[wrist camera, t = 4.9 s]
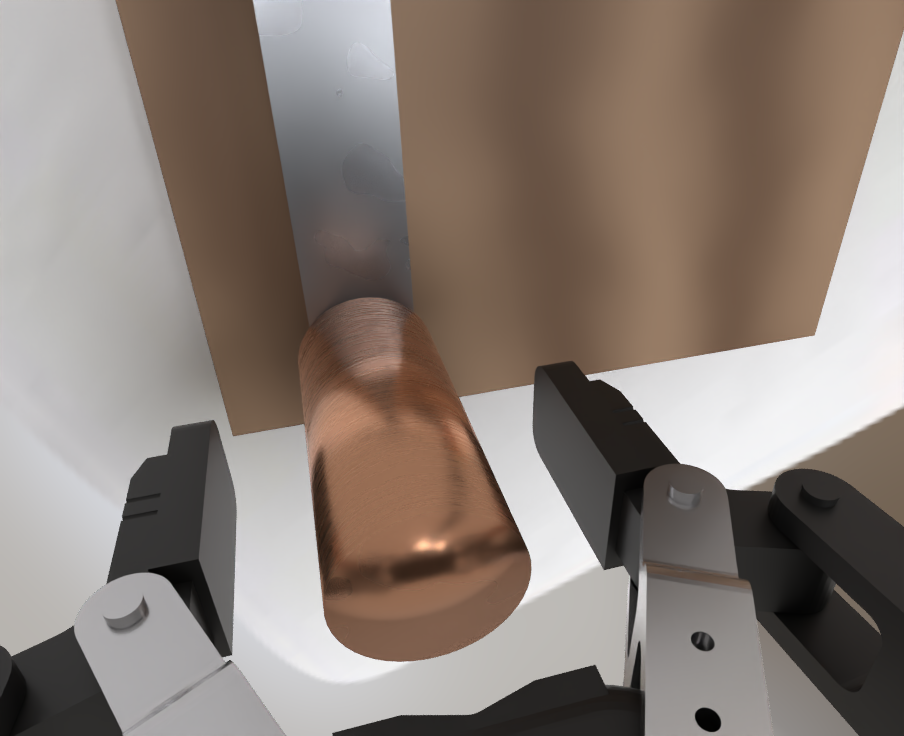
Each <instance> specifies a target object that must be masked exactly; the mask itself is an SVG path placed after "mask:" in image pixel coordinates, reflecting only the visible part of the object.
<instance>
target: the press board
mask: <svg viewBox="0 0 904 736" xmlns="http://www.w3.org/2000/svg"><path fill="white" fill-rule="evenodd" d="M390 3H391V16H392V29H393V42H394V56H395V69H396V82H397V95H398V108H399V121H400V135H401V148H402V161H403V174H404V187H405V200H406V214H407V227H408V240H409V253H410V266H411V280H412V293H413V306H414V313H416V314H417V315H418V316H419V317H420V318H421V320H422V321H423V322H424V324H425V325H426V327H427V329H428V331H429V333H430V335H431V337H432V339H433V342H434V344H435V346H436V348H437V350H438V353H439V355H440V357H441V359H442V361H443V364H444V366H445V368H446V370H447V372H448V375H449V377H450V379H451V381H452V384H453V386H454V388H455V390H456V392H457V395H458V397H462V396H468V395H473V394H479V393H485V392H491V391H496V390H502V389H508V388H514V387H519V386H525V385H531V384H534V376H535V370H536V368H537V367H538V366H542V365H548V364H554V363H560V362H566V361H573V362H575V363H576V365H577V366H578V367H579V368H580V370H581V371H582V372H583V374H584V375H589V374H594V373H600V372H606V371H612V370H617V369H623V368H629V367H635V366H640V365H646V364H652V363H658V362H664V361H669V360H675V359H681V358H687V357H692V356H698V355H704V354H710V353H715V352H721V351H727V350H733V349H738V348H744V347H750V346H756V345H761V344H767V343H773V342H779V341H785V340H790V339H796V338H802V337H808V336H813V335H815V332H816V328H817V325H818V321H819V318H820V315H821V311H822V308H823V304H824V301H825V297H826V294H827V291H828V287H829V284H830V280H831V277H832V273H833V270H834V267H835V263H836V260H837V256H838V253H839V250H840V246H841V243H842V239H843V236H844V232H845V229H846V226H847V222H848V219H849V215H850V212H851V208H852V205H853V202H854V198H855V195H856V191H857V188H858V184H859V181H860V178H861V174H862V171H863V167H864V164H865V160H866V157H867V154H868V150H869V147H870V143H871V140H872V136H873V133H874V130H875V126H876V123H877V119H878V116H879V112H880V109H881V106H882V102H883V99H884V95H885V92H886V88H887V85H888V82H889V78H890V75H891V71H892V68H893V64H894V61H895V58H896V54H897V51H898V47H899V44H900V41H901V37H902V34H903V30H904V0H390ZM116 4H117V7H118V11H119V15H120V19H121V22H122V26H123V30H124V33H125V37H126V41H127V45H128V48H129V52H130V56H131V59H132V63H133V67H134V71H135V74H136V78H137V82H138V85H139V89H140V93H141V97H142V100H143V104H144V108H145V111H146V115H147V119H148V123H149V126H150V130H151V134H152V137H153V141H154V145H155V148H156V152H157V156H158V160H159V163H160V167H161V171H162V174H163V178H164V182H165V186H166V189H167V193H168V197H169V200H170V204H171V208H172V212H173V215H174V219H175V223H176V226H177V230H178V234H179V238H180V241H181V245H182V249H183V252H184V256H185V260H186V264H187V267H188V271H189V275H190V278H191V282H192V286H193V289H194V293H195V297H196V301H197V304H198V308H199V312H200V315H201V319H202V323H203V327H204V330H205V334H206V338H207V341H208V345H209V349H210V353H211V356H212V360H213V364H214V367H215V371H216V375H217V379H218V382H219V386H220V390H221V393H222V397H223V401H224V405H225V408H226V412H227V416H228V419H229V423H230V427H231V430H232V434H233V436H237V435H243V434H249V433H254V432H260V431H266V430H272V429H277V428H283V427H289V426H295V425H300V424H304V414H303V405H302V395H301V386H300V376H299V366H298V354H299V349H300V345H301V342H302V340H303V337H304V336H305V334H306V332H307V330H308V329H309V322H308V316H307V311H306V305H305V299H304V293H303V287H302V282H301V276H300V270H299V264H298V258H297V253H296V247H295V241H294V235H293V230H292V224H291V218H290V212H289V206H288V201H287V195H286V189H285V183H284V177H283V172H282V166H281V160H280V154H279V148H278V143H277V137H276V131H275V125H274V120H273V114H272V108H271V102H270V96H269V91H268V85H267V79H266V73H265V67H264V62H263V56H262V50H261V44H260V38H259V33H258V27H257V21H256V15H255V10H254V4H253V0H116Z"/></svg>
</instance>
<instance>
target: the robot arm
mask: <svg viewBox="0 0 904 736" xmlns="http://www.w3.org/2000/svg"><path fill="white" fill-rule="evenodd" d="M533 435H534V440H535V444H536V448H537V451H538V453H539V455H540V457H541V459H542V461H543V462H544V464H545V466H546V468H547V469H548V471H549V473H550V475H551V477H552V478H553V480H554V482H555V484H556V485H557V487H558V489H559V491H560V493H561V494H562V496H563V498H564V500H565V501H566V503H567V505H568V507H569V509H570V510H571V512H572V514H573V516H574V518H575V519H576V521H577V523H578V525H579V526H580V528H581V530H582V532H583V534H584V535H585V537H586V539H587V541H588V542H589V544H590V546H591V548H592V550H593V551H594V553H595V555H596V557H597V558H598V560H599V562H600V564H601V566H602V567H603V569H604V570H606V569H611V568H615V567H619V566H624V567H625V568H626V570H627V572H628V573H629V575H630V577H629V583H628V591H627V617H626V643H625V667H624V682H623V686H615V685H605V684H604V682H603V680H602V678H601V676H600V674H599V672H598V669H597V667H596V666H595V665H593V666H589V667H585V668H581V669H577V670H574V671H570V672H566V673H562V674H558V675H554V676H550V677H547V678H543V679H539V680H535V681H533V682H531V683H529V684H528V685H526V686H524V687H522V688H521V689H519V690H517V691H515V692H514V693H512V694H510V695H508V696H506V697H505V698H503V699H501V700H499V701H498V702H496V703H494V704H492V705H491V706H489V707H487V708H485V709H484V710H482V711H480V712H478V713H476V714H472V715H401V716H396V717H393V718H389V719H385V720H381V721H377V722H374V723H369V724H366V725H362V726H358V727H354V728H351V729H346V730H342V731H339V732H335V733H332V734H333V736H774V734H773V727H772V721H771V714H770V707H769V700H768V693H767V687H766V680H765V674H764V667H763V660H762V653H761V647H760V640H759V633H758V627H757V620H758V621H759V622H760V623H761V625H762V626H763V627H764V628H765V629H766V630H767V631H768V633H769V634H770V635H771V636H772V637H773V638H774V639H775V641H776V642H777V643H778V644H779V645H780V646H781V647H782V648H783V650H784V651H785V652H786V653H787V654H788V655H789V656H790V658H791V659H792V660H793V661H794V662H795V663H796V664H797V666H798V667H799V668H800V669H801V670H802V671H803V672H804V674H806V676H807V677H808V678H809V679H810V680H811V682H812V683H813V684H814V685H815V686H816V687H817V688H818V690H819V691H820V692H821V693H822V694H823V695H824V696H825V697H826V699H827V700H828V701H829V702H830V703H831V704H832V705H833V707H834V708H835V709H836V710H837V711H838V712H839V713H840V714H841V716H842V717H843V718H844V719H845V720H846V721H847V722H848V724H849V725H850V726H851V727H852V728H853V729H854V730H855V732H856V733H857V734H858V735H859V736H904V527H903V526H902V525H901V524H899V523H898V522H897V521H896V520H894V519H893V518H892V517H891V516H889V515H888V514H887V513H885V512H884V511H883V510H881V509H880V508H879V507H878V506H876V505H875V504H874V503H873V502H871V501H870V500H869V499H867V498H866V497H865V496H864V495H862V494H861V493H860V492H859V491H857V490H856V489H855V488H854V487H852V486H851V485H850V484H848V483H847V482H845V481H843V480H842V479H840V478H838V477H836V476H834V475H831V474H828V473H825V472H822V471H818V470H812V469H794V470H790V471H787V472H784V473H783V474H781V475H780V476H779V477H778V478H777V480H776V482H775V485H774V488H773V491H772V492H766V491H743V490H729V489H725V487H724V486H723V484H722V483H721V482H720V481H719V480H718V479H717V478H716V477H715V476H713V475H712V474H710V473H709V472H707V471H705V470H703V469H700V468H698V467H694V466H691V465H685V464H680V463H679V462H678V461H677V459H676V458H675V457H674V456H673V455H672V453H671V452H670V451H669V450H668V448H667V447H666V446H665V445H664V444H663V442H662V441H661V440H660V439H659V438H658V436H657V435H656V434H655V433H654V432H653V430H652V429H651V428H650V427H649V425H648V424H647V423H646V422H643V418H642V417H641V416H640V415H639V413H638V412H637V411H636V410H633V406H632V405H631V404H630V402H629V401H628V400H627V399H626V398H625V396H624V395H623V394H622V393H621V391H619V390H617V389H615V388H614V387H612V386H610V385H609V384H607V383H605V382H603V381H602V380H595V381H589V380H588V379H587V377H586V376H585V375H584V374H583V372H582V371H581V370H580V368H579V367H578V366H577V365H576V363H575V362H573V361H566V362H560V363H554V364H548V365H542V366H538V367H537V368H536V370H535V376H534V402H533ZM126 501H127V503H126V504H125V506H124V511H123V515H122V518H123V521H121V524H120V528H119V532H118V536H117V541H116V546H115V550H114V554H113V558H112V562H111V567H110V571H109V575H108V579H107V584H106V585H104V586H103V587H102V588H100V589H99V590H97V591H96V592H95V593H94V594H93V595H92V596H91V597H89V598H88V600H87V601H86V602H85V603H84V605H83V606H82V607H81V609H80V611H79V612H78V614H77V617H76V620H75V624H74V626H72V627H71V628H69V629H67V630H66V631H64V632H62V633H61V634H59V635H57V636H55V637H53V638H51V639H48V640H46V641H44V642H42V643H40V644H38V645H36V646H33V647H31V648H29V649H27V650H25V651H22V652H20V653H18V654H16V655H14V656H12V657H11V655H10V654H9V652H8V651H7V650H6V649H5V648H4V647H2V646H0V736H286V735H285V733H284V732H283V731H282V729H281V728H280V726H279V725H278V724H277V722H276V721H275V719H274V718H273V717H272V715H271V713H270V712H269V711H268V709H267V708H266V706H265V705H264V704H263V702H262V701H261V699H260V698H259V696H258V695H257V694H256V692H255V691H254V690H253V688H252V687H251V685H250V684H249V682H248V681H247V679H246V678H245V677H244V675H243V674H242V672H241V671H240V670H239V668H238V667H237V666H236V665H235V664H234V663H233V662H232V661H231V660H229V661H228V662H225V661H224V660H223V658H222V657H226V656H230V655H232V640H233V609H234V578H235V546H236V515H237V510H236V498H235V491H234V486H233V481H232V478H231V474H230V470H229V467H228V463H227V460H226V456H225V453H224V449H223V446H222V442H221V439H220V435H219V431H218V428H217V425H216V423H215V421H214V420H211V421H205V422H199V423H193V424H187V425H182V426H176V427H173V428H172V431H171V436H170V442H169V448H168V454H167V455H162V456H157V457H151V458H147V459H146V460H145V461H144V463H143V464H142V465H141V467H140V468H139V469H138V470H137V472H136V473H135V474H134V475H133V477H132V478H131V481H130V485H129V489H128V493H127V498H126ZM836 584H837V585H839V586H840V587H841V588H842V589H843V590H844V591H845V592H846V593H847V594H848V595H849V596H850V597H851V598H852V599H853V600H854V601H855V602H857V604H859V605H860V606H861V607H862V608H863V609H864V610H865V611H866V612H867V613H868V614H869V615H870V616H871V617H872V619H873V620H874V621H875V623H876V624H877V626H878V628H879V630H880V633H881V635H880V634H879V633H878V632H877V631H876V630H875V629H874V628H873V627H872V626H871V625H870V624H869V623H868V622H867V621H866V620H865V619H864V618H863V617H861V615H860V614H859V613H857V611H856V610H854V609H853V608H852V607H851V606H850V605H849V604H848V603H847V602H846V601H845V600H844V599H843V598H842V597H841V596H840V595H839V594H838V593H837V592H836V591H835V590H834V587H835V585H836ZM756 619H757V620H756Z"/></svg>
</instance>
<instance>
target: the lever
mask: <svg viewBox="0 0 904 736" xmlns="http://www.w3.org/2000/svg"><path fill="white" fill-rule="evenodd" d="M253 4H254V10H255V15H256V21H257V27H258V33H259V38H260V44H261V50H262V56H263V62H264V67H265V73H266V79H267V85H268V91H269V96H270V102H271V108H272V114H273V120H274V125H275V131H276V137H277V143H278V148H279V154H280V160H281V166H282V172H283V177H284V183H285V189H286V195H287V201H288V206H289V212H290V218H291V224H292V230H293V235H294V241H295V247H296V253H297V258H298V264H299V270H300V276H301V282H302V287H303V293H304V299H305V305H306V311H307V316H308V322H309V329H308V330H307V332H306V334H305V336H304V337H303V340H302V342H301V345H300V349H299V354H298V366H299V376H300V386H301V395H302V405H303V414H304V424H305V434H306V443H307V453H308V463H309V472H310V482H311V492H312V501H313V511H314V521H315V530H316V540H317V550H318V559H319V569H320V579H321V588H322V598H323V608H324V617H325V620H326V623H327V626H328V627H329V629H330V631H331V633H332V634H333V635H334V636H335V638H336V639H337V640H338V641H339V642H340V643H342V644H343V645H344V646H345V647H347V648H348V649H350V650H352V651H354V652H356V653H358V654H360V655H363V656H366V657H369V658H373V659H378V660H384V661H397V662H402V661H417V660H425V659H429V658H434V657H438V656H442V655H445V654H449V653H451V652H453V651H457V650H459V649H462V648H464V647H466V646H468V645H470V644H472V643H474V642H476V641H478V640H479V639H481V638H483V637H484V636H486V635H487V634H489V633H490V632H492V631H493V630H494V629H496V628H497V627H498V626H499V625H500V624H502V623H503V622H504V621H505V620H506V619H507V618H508V617H509V616H510V615H511V614H512V612H513V611H514V610H515V609H516V607H517V606H518V605H519V603H520V601H521V600H522V598H523V597H524V594H525V592H526V590H527V588H528V584H529V581H530V576H531V559H530V555H529V552H528V549H527V547H526V545H525V543H524V540H523V538H522V536H521V534H520V532H519V529H518V527H517V525H516V523H515V521H514V518H513V516H512V514H511V512H510V510H509V507H508V505H507V503H506V501H505V498H504V496H503V494H502V492H501V490H500V487H499V485H498V483H497V481H496V479H495V476H494V474H493V472H492V470H491V468H490V465H489V463H488V461H487V459H486V456H485V454H484V452H483V450H482V448H481V445H480V443H479V441H478V439H477V437H476V434H475V432H474V430H473V428H472V426H471V423H470V421H469V419H468V417H467V414H466V412H465V410H464V408H463V406H462V403H461V401H460V399H459V397H458V395H457V392H456V390H455V388H454V386H453V384H452V381H451V379H450V377H449V375H448V372H447V370H446V368H445V366H444V364H443V361H442V359H441V357H440V355H439V353H438V350H437V348H436V346H435V344H434V342H433V339H432V337H431V335H430V333H429V331H428V329H427V327H426V325H425V324H424V322H423V321H422V320H421V318H420V317H419V316H418V315H417V314H416V313H414V306H413V293H412V280H411V266H410V253H409V240H408V227H407V214H406V200H405V187H404V174H403V161H402V148H401V135H400V121H399V108H398V95H397V82H396V69H395V56H394V42H393V29H392V16H391V3H390V0H253Z"/></svg>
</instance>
